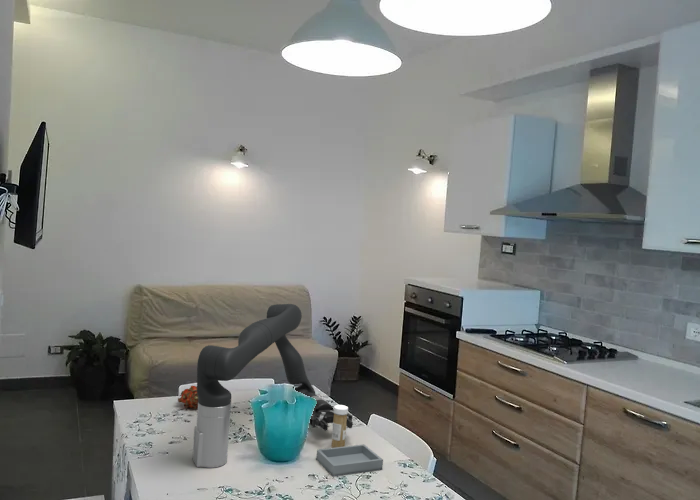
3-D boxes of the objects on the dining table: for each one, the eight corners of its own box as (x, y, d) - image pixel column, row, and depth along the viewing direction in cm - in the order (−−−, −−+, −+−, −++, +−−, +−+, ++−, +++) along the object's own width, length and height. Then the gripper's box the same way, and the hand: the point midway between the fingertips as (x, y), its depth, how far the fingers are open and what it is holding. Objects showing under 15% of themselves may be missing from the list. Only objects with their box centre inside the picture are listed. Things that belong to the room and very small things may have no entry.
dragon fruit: (201, 417, 207) (181, 413, 214) (216, 399, 213) (196, 395, 220) (189, 400, 203) (168, 396, 211) (204, 382, 209) (184, 379, 216)
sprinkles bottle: (347, 450, 183) (351, 408, 183) (335, 452, 181) (338, 409, 180) (340, 444, 187) (343, 403, 187) (327, 446, 185) (331, 405, 184)
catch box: (332, 476, 163) (333, 466, 163) (316, 459, 174) (316, 449, 174) (382, 469, 171) (383, 459, 170) (363, 453, 181) (364, 444, 181)
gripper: (300, 400, 195) (319, 416, 180) (338, 397, 201) (359, 413, 187) (298, 422, 195) (317, 440, 181) (336, 419, 202) (358, 436, 187)
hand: (339, 426), depth 184 cm, fingers open, 8 cm apart
